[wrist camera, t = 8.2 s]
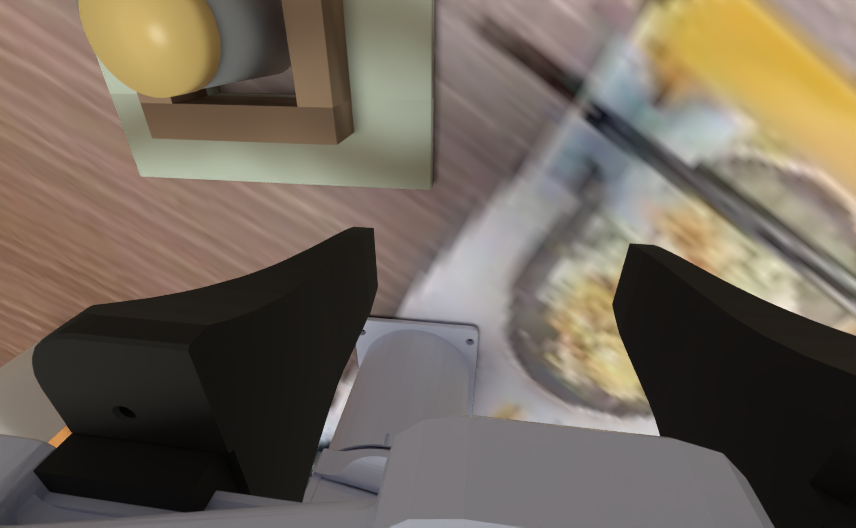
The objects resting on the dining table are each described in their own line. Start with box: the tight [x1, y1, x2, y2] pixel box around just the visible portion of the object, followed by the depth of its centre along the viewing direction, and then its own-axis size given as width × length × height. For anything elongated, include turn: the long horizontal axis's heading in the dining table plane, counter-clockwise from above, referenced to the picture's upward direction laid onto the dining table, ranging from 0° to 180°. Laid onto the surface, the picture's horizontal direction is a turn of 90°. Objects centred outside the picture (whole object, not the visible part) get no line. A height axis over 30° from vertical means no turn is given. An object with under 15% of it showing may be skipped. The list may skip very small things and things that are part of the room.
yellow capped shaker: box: [79, 0, 291, 98], centre depth 15 cm, size 4×4×8 cm
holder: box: [76, 0, 435, 190], centre depth 17 cm, size 14×16×4 cm
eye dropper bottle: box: [0, 330, 66, 442], centre depth 26 cm, size 4×6×12 cm
